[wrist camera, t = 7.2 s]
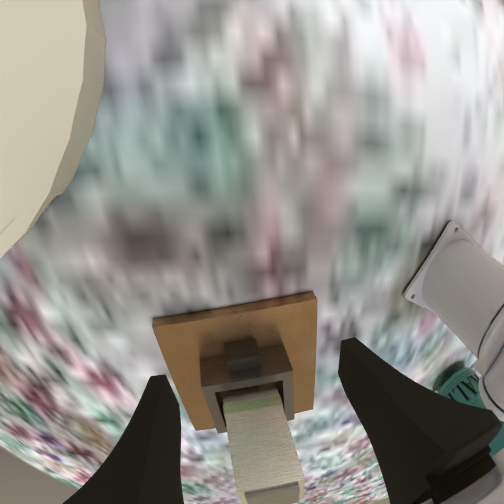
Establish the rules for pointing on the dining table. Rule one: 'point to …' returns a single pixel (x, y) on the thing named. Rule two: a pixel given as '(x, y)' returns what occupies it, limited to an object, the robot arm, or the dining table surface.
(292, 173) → the dining table surface
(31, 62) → the ashtray
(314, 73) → the dining table surface
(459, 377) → the beverage bottle
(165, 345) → the stand base
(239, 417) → the grayish brown rectangular block
